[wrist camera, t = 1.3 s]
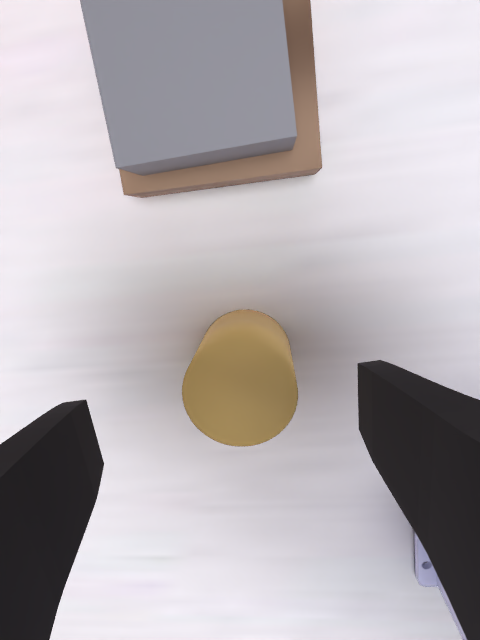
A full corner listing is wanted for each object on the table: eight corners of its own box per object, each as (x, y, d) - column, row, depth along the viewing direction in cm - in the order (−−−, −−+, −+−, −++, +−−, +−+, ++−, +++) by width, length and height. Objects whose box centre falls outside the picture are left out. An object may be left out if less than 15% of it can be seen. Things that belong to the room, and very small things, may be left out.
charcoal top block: (292, 150, 16) (297, 136, 13) (143, 175, 16) (116, 167, 13) (271, -31, 14) (272, -94, 11) (109, 4, 15) (70, -45, 12)
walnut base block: (313, 175, 19) (321, 168, 16) (145, 198, 19) (124, 194, 17) (298, -28, 17) (304, -78, 14) (112, 6, 18) (81, -36, 15)
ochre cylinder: (294, 389, 21) (302, 441, 16) (208, 397, 21) (191, 450, 17) (286, 304, 20) (292, 333, 15) (195, 314, 20) (173, 345, 15)
